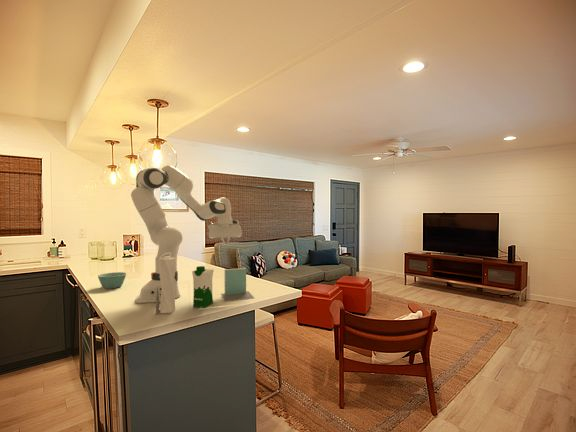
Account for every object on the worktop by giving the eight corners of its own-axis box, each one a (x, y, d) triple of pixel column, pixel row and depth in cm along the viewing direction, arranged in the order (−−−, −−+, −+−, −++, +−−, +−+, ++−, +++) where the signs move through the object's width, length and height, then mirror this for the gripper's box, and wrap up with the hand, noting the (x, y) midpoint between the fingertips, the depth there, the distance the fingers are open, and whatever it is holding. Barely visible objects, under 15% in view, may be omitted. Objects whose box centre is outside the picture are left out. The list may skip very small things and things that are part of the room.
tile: (225, 294, 169) (225, 270, 169) (224, 293, 171) (224, 269, 171) (246, 292, 173) (246, 268, 173) (245, 291, 175) (245, 267, 175)
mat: (225, 302, 156) (225, 301, 156) (220, 294, 171) (220, 293, 171) (254, 299, 162) (254, 298, 162) (248, 292, 177) (248, 291, 177)
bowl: (105, 284, 197) (105, 272, 197) (130, 284, 199) (130, 271, 198) (92, 290, 181) (92, 277, 181) (120, 290, 183) (119, 276, 183)
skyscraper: (161, 309, 147) (160, 252, 146) (178, 309, 147) (177, 252, 147) (154, 315, 138) (154, 254, 138) (172, 314, 139) (172, 254, 139)
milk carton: (190, 307, 149) (190, 267, 148) (201, 302, 157) (201, 264, 157) (205, 309, 146) (205, 268, 146) (215, 303, 154) (215, 265, 154)
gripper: (207, 222, 182) (208, 244, 178) (241, 221, 188) (243, 242, 185) (207, 224, 188) (208, 246, 184) (240, 223, 194) (241, 244, 190)
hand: (226, 244), depth 184 cm, fingers closed
